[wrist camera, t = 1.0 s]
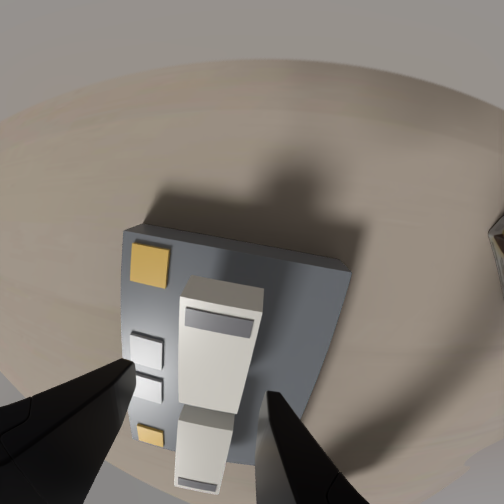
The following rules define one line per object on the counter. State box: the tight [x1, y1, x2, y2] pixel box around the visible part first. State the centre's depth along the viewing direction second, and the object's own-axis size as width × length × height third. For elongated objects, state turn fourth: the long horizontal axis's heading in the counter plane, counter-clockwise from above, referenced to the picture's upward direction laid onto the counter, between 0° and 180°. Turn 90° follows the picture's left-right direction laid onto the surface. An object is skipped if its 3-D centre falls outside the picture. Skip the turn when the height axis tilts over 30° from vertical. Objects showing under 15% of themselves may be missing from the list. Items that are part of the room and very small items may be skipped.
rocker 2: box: [174, 404, 235, 495], centre depth 17 cm, size 8×4×2 cm, turn 170°
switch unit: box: [121, 224, 352, 466], centre depth 20 cm, size 20×14×4 cm
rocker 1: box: [178, 275, 264, 414], centre depth 14 cm, size 8×4×2 cm, turn 170°
